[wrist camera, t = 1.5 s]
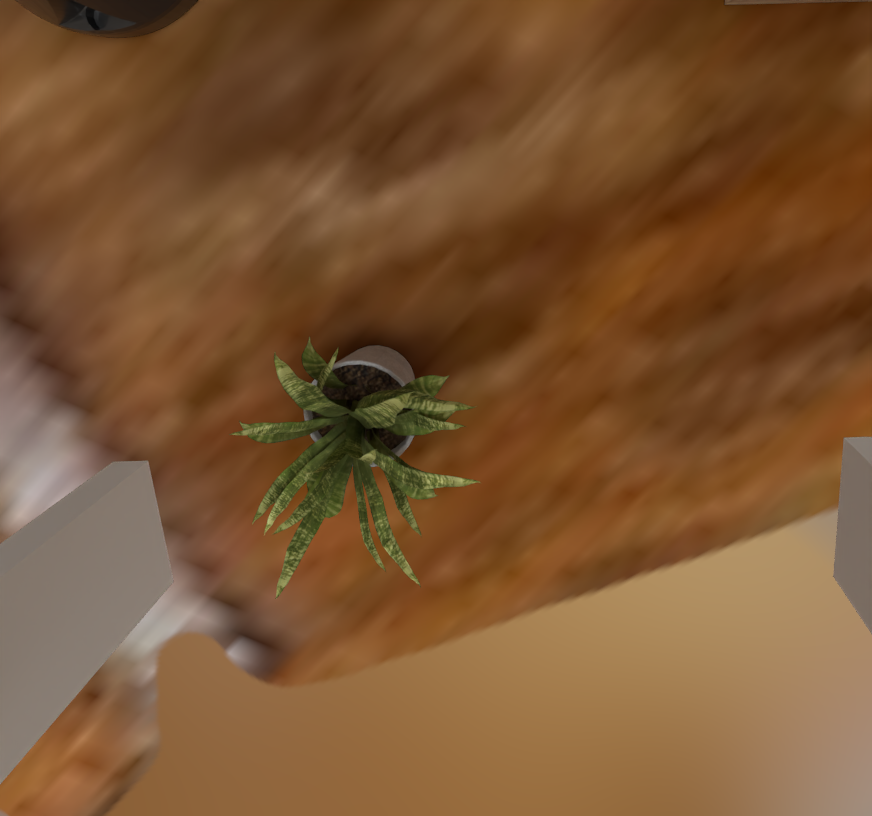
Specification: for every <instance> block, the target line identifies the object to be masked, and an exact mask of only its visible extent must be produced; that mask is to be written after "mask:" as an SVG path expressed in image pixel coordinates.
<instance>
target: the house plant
mask: <svg viewBox="0 0 872 816" xmlns="http://www.w3.org/2000/svg"><path fill="white" fill-rule="evenodd" d="M338 349H339V347H338ZM338 349H337V350H336V352H335V353H334V354H333V356H332V358H331V360H330V361H329V363H328V364H327V363H326V362H325V361H324V360H323V359H322V358H321V357H320V356H319V355H318V354H317V353H316V351H315V350H314V348H313V346H312V345H311V343H310V337H309V340H308V344H307V346H306V348H305V350H304V352H303V354H302V364H303V366H304V369H305V370H306V372H307V373H308V374H309V375H310V376H311V377H312V378H314V380H313V382H312V383H311V384H310V383H308V382H306V381H304V380H302V379H300V378H298V377H297V376H296V374H295V373H294V372H293V371H292V370H291V368H290V367H289V366H288V365H287V364H286V363H284V362H283V361H282V360H280V359H279V358H278V357H277V356H276V353H275V354H274V362H275V366H276V371H277V375H278V378H279V380H280V382H281V384H282V386H283V388H284V390H285V391H286V392H287V393H288V394H289V395H290V397H291V398H292V399H293V400H294V401H295V402H296V403H297V405H298V406H299V407H301V408H302V409H303V411H304V417H305V421H303V422H285V423H254V424H244V423H241V422H240V421H239V422H240V424H241V426H242V428H243V429H244V430H243V431H240V432H235V433H232V435H248V437H249V438H251V439H253V440H255V441H258V442H262V443H275V442H281V441H286V440H291V439H295V438H298V437H302V436H305V435H308V434H310V435H311V438H312V439H313V440H314V441H315V443H314V444H312V445H311V446H310V447H309V448H308V449H307V450H305V451H304V452H303V453H302V454H301V455H300V456H299V457H298V458H297V459H296V460H295V461H294V462H293V463H292V464H291V465H290V466H289V467H288V468H287V469H285V470H284V471H283V472H282V473H281V474H280V476H279V477H278V478H277V479H276V480H275V481H274V483H273V484H272V486H271V487H270V489H269V490H268V492H267V493H266V495H265V497H264V498H263V500H262V502H261V504H260V506H259V508H258V511H257V513H256V515H255V517H254V520H253V522H254V521H255V520H257V519H258V518H259V517H261V516H262V515H263V514H264V512H265V511H266V510H267V509H268V507H269V506H270V505H272V504H273V503H275V502H276V503H275V505H274V507H273V509H272V511H271V513H270V515H269V518H268V521H267V525H266V528H265V532H266V531H267V530H268V529H269V528H270V527H271V526H272V524H273V522H274V521H275V519H276V517H277V516H278V515H279V514H280V513H281V512H282V511H283V510H284V509H285V508H286V507H287V505H288V504H289V502H290V501H291V499H292V498H293V496H294V495H295V494H296V493H297V491H298V490H299V489H300V488H301V486H302V485H303V484H304V483H305V482H306V481H307V488H308V493H307V495H306V497H305V499H304V500H303V501H302V502H301V503H300V504H299V506H298V507H297V508H296V510H295V511H294V512H293V514H292V515H291V516H290V517H289V519H287V520H286V521H285V522H284V523H282V524H281V525H280V526H279V527H278V528H277V530H276V531H275V533H278V532H280V531H282V530H285V529H287V528H289V527H290V526H292V525H294V524H295V523H297V522H298V521H300V520H301V519H302V518H303V517H304V518H303V520H302V522H301V524H300V526H299V527H298V529H297V531H296V533H295V535H294V537H293V539H292V541H291V543H290V544H289V546H288V548H287V552H286V556H285V560H284V565H283V570H282V573H281V576H280V578H279V581H278V584H277V595H276V598H277V597H278V596H279V595H280V594H281V592H282V590H283V589H284V587H285V586H286V585H287V583H288V582H289V580H290V578H291V576H292V574H293V573H294V571H295V570H296V568H297V566H298V564H299V562H300V560H301V559H302V557H303V555H304V553H305V551H306V549H307V547H308V546H309V544H310V542H311V540H312V539H313V537H314V535H315V534H316V532H317V530H318V529H319V527H320V525H321V523H322V521H323V519H324V517H328V518H330V517H333V516H335V515H337V514H338V513H339V512H340V510H341V508H342V505H343V500H344V494H345V488H346V484H347V481H348V478H349V475H350V472H351V469H352V466H353V475H354V483H355V490H356V495H357V502H358V511H359V519H360V526H361V532H362V536H363V540H364V543H365V545H366V546H367V548H368V550H369V552H370V553H371V554H372V556H373V557H374V559H375V561H376V562H377V563H378V565H379V566H380V567H382V568H383V569H384V570H385V568H384V566H383V564H382V562H381V560H380V557H379V555H378V553H377V551H376V548H375V545H374V543H373V540H372V537H371V533H370V529H369V524H368V518H367V509H366V503H365V498H364V493H363V486H362V482H363V484H364V487H365V490H366V493H367V497H368V501H369V505H370V509H371V513H372V517H373V521H374V524H375V528H376V531H377V533H378V536H379V538H380V541H381V544H382V546H383V547H384V548H385V550H386V551H387V552H388V553H389V555H390V556H391V557H392V558H393V559H394V560H395V561H396V562H397V564H398V565H399V566H400V567H401V569H402V570H403V571H404V572H405V573H406V575H407V576H408V577H409V578H411V579H412V580H414V581H415V582H417V583H418V584H419V585H420V583H419V581H418V580H417V578H416V576H415V575H414V573H413V571H412V569H411V568H410V566H409V564H408V563H407V561H406V559H405V558H404V556H403V554H402V552H401V550H400V548H399V546H398V544H397V542H396V540H395V538H394V536H393V533H392V530H391V528H390V525H389V523H388V519H387V515H386V511H385V507H384V503H383V499H382V496H381V493H380V491H379V489H378V487H377V485H376V482H375V479H374V476H373V473H372V470H371V467H376V466H379V467H380V468H381V469H382V470H383V471H384V473H385V475H386V478H387V480H388V482H389V485H390V487H391V490H392V493H393V496H394V499H395V502H396V505H397V508H398V510H399V511H400V512H401V514H402V515H403V516H404V518H405V519H406V520H407V521H408V523H409V524H410V526H411V527H412V528H413V530H415V531H416V532H417V533H419V534H420V535H421V532H420V530H419V528H418V526H417V523H416V521H415V519H414V516H413V514H412V511H411V508H410V506H409V503H408V500H407V497H406V495H408V496H409V497H411V498H414V499H428V498H432V497H435V496H438V495H435V493H434V490H433V488H440V487H459V486H466V485H469V484H472V483H476V482H478V481H476V480H471V479H465V478H460V477H454V476H445V475H438V474H432V473H426V472H424V471H421V470H418V469H416V468H413V467H411V466H410V465H408V464H407V463H405V462H404V461H403V460H402V459H400V458H399V456H400V455H401V454H402V453H403V452H404V451H405V450H406V449H407V448H408V446H409V445H410V443H411V441H412V439H413V437H414V436H415V435H424V434H428V433H431V432H433V431H435V430H452V429H457V428H460V427H463V425H459V424H453V423H448V422H445V421H446V420H447V419H448V418H449V417H450V416H451V415H452V414H453V413H454V412H455V411H456V410H466V409H471V408H474V407H471V406H468V405H465V404H462V403H460V402H451V401H444V400H438V399H436V398H434V396H435V395H436V394H437V393H438V391H439V390H440V388H441V387H442V385H443V384H444V382H445V381H446V379H447V378H448V377H449V376H450V375H449V376H446V377H441V376H434V375H428V376H423V377H420V378H417V379H415V377H414V373H413V370H412V368H411V366H410V364H409V363H408V361H407V360H406V359H405V358H404V357H403V356H402V355H401V354H400V353H398V352H397V351H395V350H393V349H391V348H389V347H385V346H380V345H374V346H366V347H363V348H360V349H358V350H356V351H355V352H353V353H351V354H350V355H348V356H346V357H345V358H343V359H341V360H340V361H338V362H336V363H335V360H336V357H337V354H338ZM334 363H335V364H334ZM475 407H476V406H475ZM465 427H466V426H465ZM229 435H231V434H229ZM394 460H396V461H397V462H398V463H397V462H396V461H394ZM479 483H481V482H479ZM252 524H253V523H252ZM275 533H273V534H275ZM264 535H265V533H264ZM421 538H422V537H421ZM385 571H386V570H385ZM420 587H421V586H420ZM276 598H275V599H276Z"/></svg>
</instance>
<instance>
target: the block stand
mask: <svg viewBox="0 0 872 816" xmlns="http://www.w3.org/2000/svg"><path fill="white" fill-rule="evenodd" d="M865 1H872V0H725V3H724V5H738V4H780V3H822V2H865Z"/></svg>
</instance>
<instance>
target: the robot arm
mask: <svg viewBox="0 0 872 816" xmlns="http://www.w3.org/2000/svg"><path fill="white" fill-rule="evenodd" d="M16 1H17V2H18V3H19V4H21V5H22V6H23V7H25V8H26V9H28V10H29V11H31V12H32V13H34V14H35V15H37V16H39V17H40V18H42V19H44V20H46V21H48V22H50V23H52V24H54V25H57V26H59V27H62V28H64V29H67V30H71V31H74V32H78V33H82V34H89V35H96V36H102V37H111V38H127V37H135V36H140V35H145V34H148V33H151V32H154V31H156V30H159V29H161V28H163V27H165V26H167V25H169V24H170V23H172V22H174V21H175V20H177V19H178V18H179V17H181V16H182V15H183V14H184V13H185V12H187V11H188V10H189V9H190V8H191V7H192V6H193V5H194V4H195V3H196V2H197V0H16ZM833 577H834V578H835V580H836V581H837V582H838V584H839V586H840V587H841V589H842V590H843V591H844V593H845V595H846V596H847V598H848V599H849V601H850V602H851V604H852V605H853V607H854V608H855V610H856V611H857V613H858V614H859V616H860V617H861V619H862V620H863V621H864V623H865V624H866V626H867V628H868V629H869V631H870V632H871V634H872V437H852V438H844V443H843V457H842V470H841V483H840V496H839V509H838V522H837V536H836V549H835V562H834V576H833ZM173 582H174V580H173V576H172V571H171V566H170V561H169V557H168V552H167V547H166V543H165V538H164V533H163V529H162V524H161V519H160V515H159V510H158V505H157V500H156V496H155V491H154V486H153V482H152V477H151V472H150V468H149V463H148V461H126V462H112V463H111V464H109V465H108V466H107V467H105V468H104V469H102V470H101V471H100V472H98V473H97V474H96V475H94V476H93V477H91V478H90V479H89V480H87V481H86V482H85V483H83V484H82V485H80V486H79V487H78V488H76V489H75V490H74V491H72V492H71V493H69V494H68V495H67V496H65V497H64V498H63V499H61V500H60V501H58V502H57V503H56V504H54V505H53V506H52V507H50V508H49V509H47V510H46V511H45V512H43V513H42V514H41V515H39V516H38V517H37V518H35V519H34V520H32V521H31V522H30V523H28V524H27V525H26V526H24V527H23V528H21V529H20V530H19V531H17V532H16V533H15V534H13V535H12V536H10V537H9V538H8V539H6V540H5V541H4V542H2V543H1V544H0V784H1V783H2V782H3V780H4V779H5V778H6V777H7V776H8V775H9V773H10V772H11V771H12V770H13V769H14V768H15V766H16V765H17V764H18V763H19V762H20V761H21V759H22V758H23V757H24V756H25V755H26V754H27V752H28V751H29V750H30V749H31V748H32V747H33V745H34V744H35V743H36V742H37V741H38V740H39V738H40V737H41V736H42V735H43V734H44V733H45V731H46V730H47V729H48V728H49V727H50V726H51V724H52V723H53V722H54V721H55V720H56V719H57V717H58V716H59V715H60V714H61V713H62V712H63V710H64V709H65V708H66V707H67V706H68V705H69V703H70V702H71V701H72V700H73V699H74V698H75V696H76V695H77V694H78V693H79V692H80V691H81V689H82V688H83V687H84V686H85V685H86V684H87V682H88V681H89V680H90V679H91V678H92V677H93V675H94V674H95V673H96V672H97V671H98V670H99V668H100V667H101V666H102V665H103V664H104V663H105V661H106V660H107V659H108V658H109V657H110V655H111V654H112V653H113V652H114V651H115V650H116V648H117V647H118V646H119V645H120V644H121V643H122V641H123V640H124V639H125V638H126V637H127V636H128V634H129V633H130V632H131V631H132V630H133V629H134V627H135V626H136V625H137V624H138V623H139V622H140V620H141V619H142V618H143V617H144V616H145V615H146V613H147V612H148V611H149V610H150V609H151V608H152V606H153V605H154V604H155V603H156V602H157V601H158V599H159V598H160V597H161V596H162V595H163V594H164V592H165V591H166V590H167V589H168V588H169V587H170V585H171V584H172V583H173Z"/></svg>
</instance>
